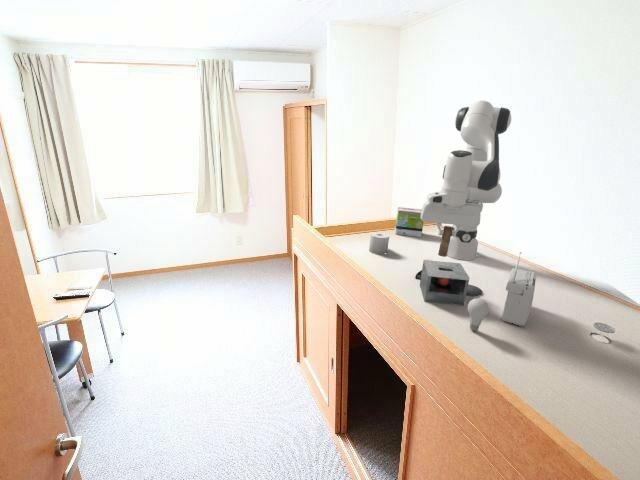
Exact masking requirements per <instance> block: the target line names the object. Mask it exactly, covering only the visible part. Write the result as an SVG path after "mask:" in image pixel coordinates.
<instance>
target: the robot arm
mask: <svg viewBox="0 0 640 480" xmlns="http://www.w3.org/2000/svg"><path fill="white" fill-rule="evenodd" d="M511 123H512V114H511V110H510V109H509V108H507V107H502V106H501V107H495V106H493V105H492V103H491V102H489V101H487V100H478V101H476V102H475V101H474V103H473V104H472V105H471V106H466V107H462V108H460V109H459V110H458V111H457V113H456V115H455V119H454V125H455V128H456V130H457V131H458V132H460V137H461V139H462V140H463V141H464V143H465V144H466V150H461V149H460V150H458V149H457V150H452V151H451V152H449V154H448V156H447V160H446V164H445V165H444V167H443V171H442V172H443V173H442V179H443V184H442V187H441V190H440V191H436V192H431V193H428V194H427V195H426V201H425V202H424V203H423V205H422V209H421V210H422V212H421V220H422V221H423V222H424V223H432V224H433V223H435V224H436V227H437V229H438V231H437V232H438V233H437V234H438V236H442V235H443V233H444V231H443V229H442V228H441V227H442V225H452V226H451V227H453V229H452V234H451V238H450V243H449V247H448V252H447V256H448V257H450V258H453V259H458V260H461V261H463V260H465V261H470V260H471V261H472V260H474V259H478V258H480V254H479V253H478V248H479V247H478V246H479V241H478V239H477V235H478V226H479V225H480V224H481V213H482V211H483V208H484V204H495V203H496V202H498V201H499V200H500V198H501V197H502V194H503V193H502V191H503V190H502V189H503V187H502V186H501V184H500V179H501V168H500V137H499V135H501V134H503V133H505V132H506V131H507V130H508V129H509V127H510V126H511ZM447 256H446V257H447Z"/></svg>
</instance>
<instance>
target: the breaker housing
mask: <svg viewBox="0 0 640 480" xmlns="http://www.w3.org/2000/svg"><path fill="white" fill-rule="evenodd" d="M421 270H422V273H421V280H419V288H420V291H421V295H422V298H423V301H424V302H429V303H439V304H447V305H455V306H463V307H464V306H465V302H466V298H467V295H466V293H467V288H468V284H470V283H469V281H470V275H468V273H467V272H466V270H465V268H464V266H463V265H462V264H461V263H458V262H452V261H451V262H450V261H440V260H431V259H429V260H428V259H423V260H422V268H421ZM438 277H442V278H449V283H448V285H441V284H438V283H437V280H438Z"/></svg>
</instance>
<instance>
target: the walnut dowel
mask: <svg viewBox="0 0 640 480" xmlns="http://www.w3.org/2000/svg"><path fill="white" fill-rule="evenodd" d="M452 229H453V227H452V226H450V225H443V228H442V230H443V231H444V233H443V235H441V239H440V245H439V248H438V249H439V250H438V253H437V255H438V256H440V257H443V258H446V257H447V252H448V247H449V243H450V238H451V234H452Z"/></svg>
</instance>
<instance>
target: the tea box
mask: <svg viewBox="0 0 640 480" xmlns="http://www.w3.org/2000/svg"><path fill="white" fill-rule="evenodd" d="M421 212H422V209H418V208H410V207H404V206H403V207H401V206H398V207H397V214H396V221H395V224H394V225H395V226H394V234H395V235H401V236H409V237H416V238H417V237H418V238H422V234H423V227H424V223H425V222H423V221H422V220H421Z"/></svg>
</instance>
